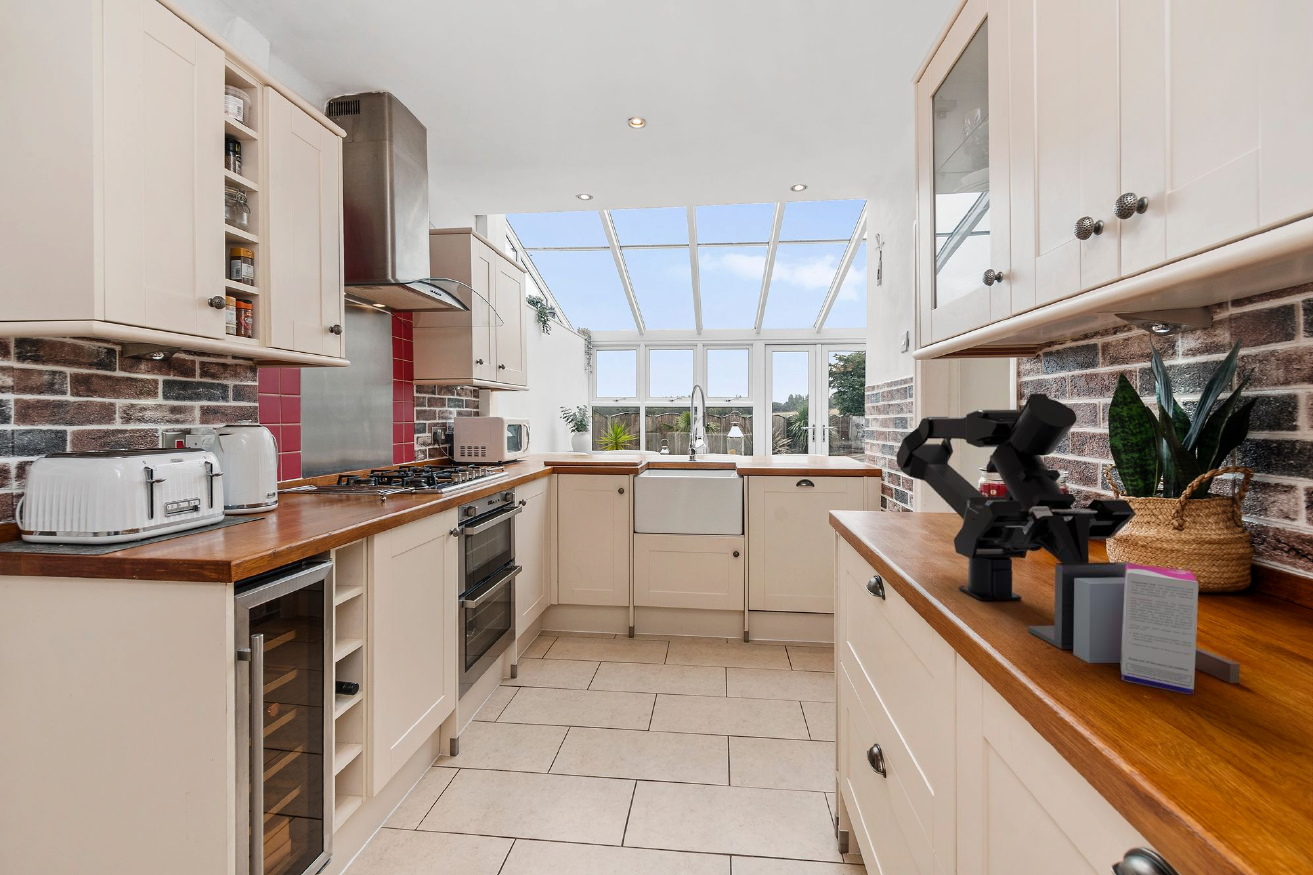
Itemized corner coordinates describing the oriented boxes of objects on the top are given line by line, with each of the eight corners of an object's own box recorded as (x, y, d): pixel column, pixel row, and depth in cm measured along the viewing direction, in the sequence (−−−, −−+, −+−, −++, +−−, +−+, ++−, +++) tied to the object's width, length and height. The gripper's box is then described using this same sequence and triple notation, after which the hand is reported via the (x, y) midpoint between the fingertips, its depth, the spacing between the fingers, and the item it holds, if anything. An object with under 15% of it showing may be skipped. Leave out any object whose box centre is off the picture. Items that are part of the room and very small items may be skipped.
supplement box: (1197, 696, 59) (1199, 581, 58) (1120, 680, 62) (1122, 572, 62) (1190, 676, 63) (1192, 569, 63) (1120, 662, 67) (1121, 561, 67)
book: (1073, 654, 69) (1074, 578, 69) (1140, 653, 70) (1141, 577, 69) (1088, 663, 67) (1090, 583, 67) (1158, 661, 67) (1159, 582, 67)
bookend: (1027, 630, 77) (1028, 553, 77) (1095, 629, 77) (1096, 552, 77) (1061, 649, 71) (1062, 565, 70) (1135, 647, 71) (1136, 564, 71)
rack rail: (1114, 631, 77) (1114, 616, 77) (1121, 631, 77) (1122, 616, 77) (1229, 683, 62) (1230, 664, 62) (1239, 683, 62) (1239, 663, 62)
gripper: (1062, 511, 90) (1120, 606, 79) (940, 512, 89) (982, 608, 79) (1103, 462, 82) (1174, 561, 71) (970, 463, 81) (1021, 563, 70)
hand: (1084, 575), depth 73 cm, fingers closed
